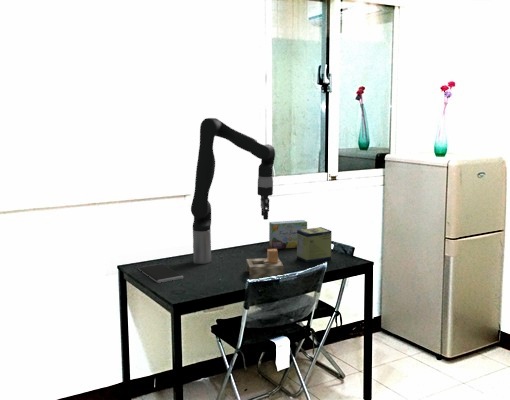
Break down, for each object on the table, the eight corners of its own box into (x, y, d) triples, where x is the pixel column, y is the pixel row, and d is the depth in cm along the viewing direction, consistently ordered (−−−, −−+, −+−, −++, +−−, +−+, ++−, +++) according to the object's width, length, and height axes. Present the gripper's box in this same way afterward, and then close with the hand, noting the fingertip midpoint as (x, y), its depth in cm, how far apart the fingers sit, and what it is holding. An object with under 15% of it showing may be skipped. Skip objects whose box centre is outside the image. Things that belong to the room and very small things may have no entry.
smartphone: (162, 266, 303) (162, 263, 303) (184, 279, 280) (183, 275, 280) (137, 270, 296) (137, 267, 296) (157, 284, 273) (157, 280, 273)
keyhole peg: (268, 270, 283) (268, 251, 281) (267, 267, 287) (267, 249, 286) (277, 269, 284) (277, 250, 282) (276, 267, 288) (276, 248, 286)
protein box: (331, 259, 310) (332, 230, 308) (306, 263, 304) (306, 233, 301) (320, 254, 320) (321, 226, 317) (296, 258, 313) (296, 229, 310)
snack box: (271, 249, 330) (271, 223, 328) (269, 247, 336) (268, 221, 333) (307, 246, 336) (307, 221, 333) (303, 244, 341) (304, 219, 339)
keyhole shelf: (250, 279, 277) (249, 267, 276) (246, 270, 291) (246, 259, 290) (283, 277, 280) (283, 265, 278) (278, 269, 293) (278, 257, 292)
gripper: (256, 183, 295) (255, 214, 298) (259, 187, 281) (258, 220, 284) (270, 183, 296) (270, 214, 299) (274, 187, 282) (274, 220, 285)
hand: (264, 217), depth 291 cm, fingers open, 8 cm apart
